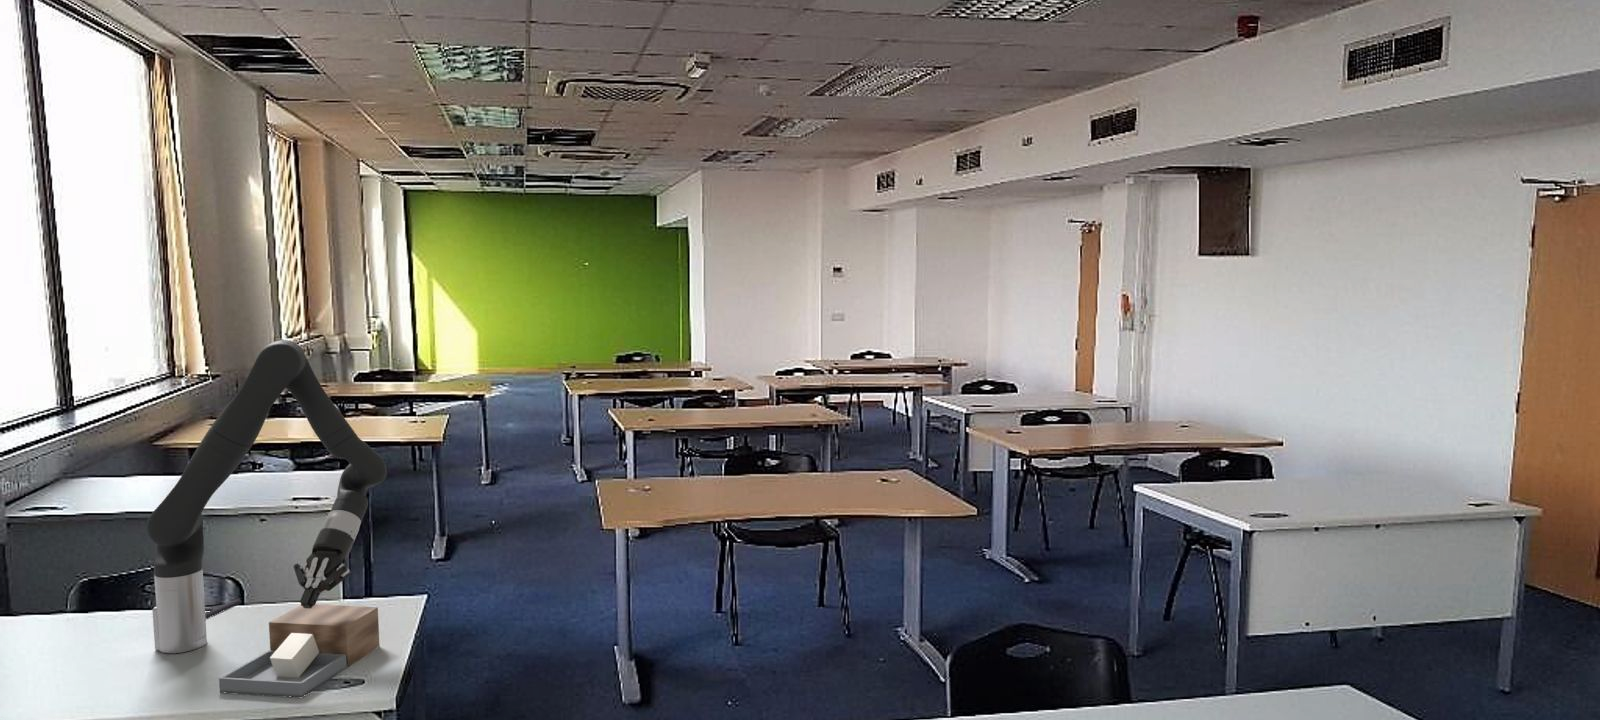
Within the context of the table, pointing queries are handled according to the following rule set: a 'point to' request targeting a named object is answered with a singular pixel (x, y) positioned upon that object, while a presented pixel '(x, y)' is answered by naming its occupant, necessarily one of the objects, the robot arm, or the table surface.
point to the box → (263, 679)
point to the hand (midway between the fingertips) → (305, 606)
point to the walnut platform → (331, 629)
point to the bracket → (220, 608)
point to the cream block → (294, 655)
